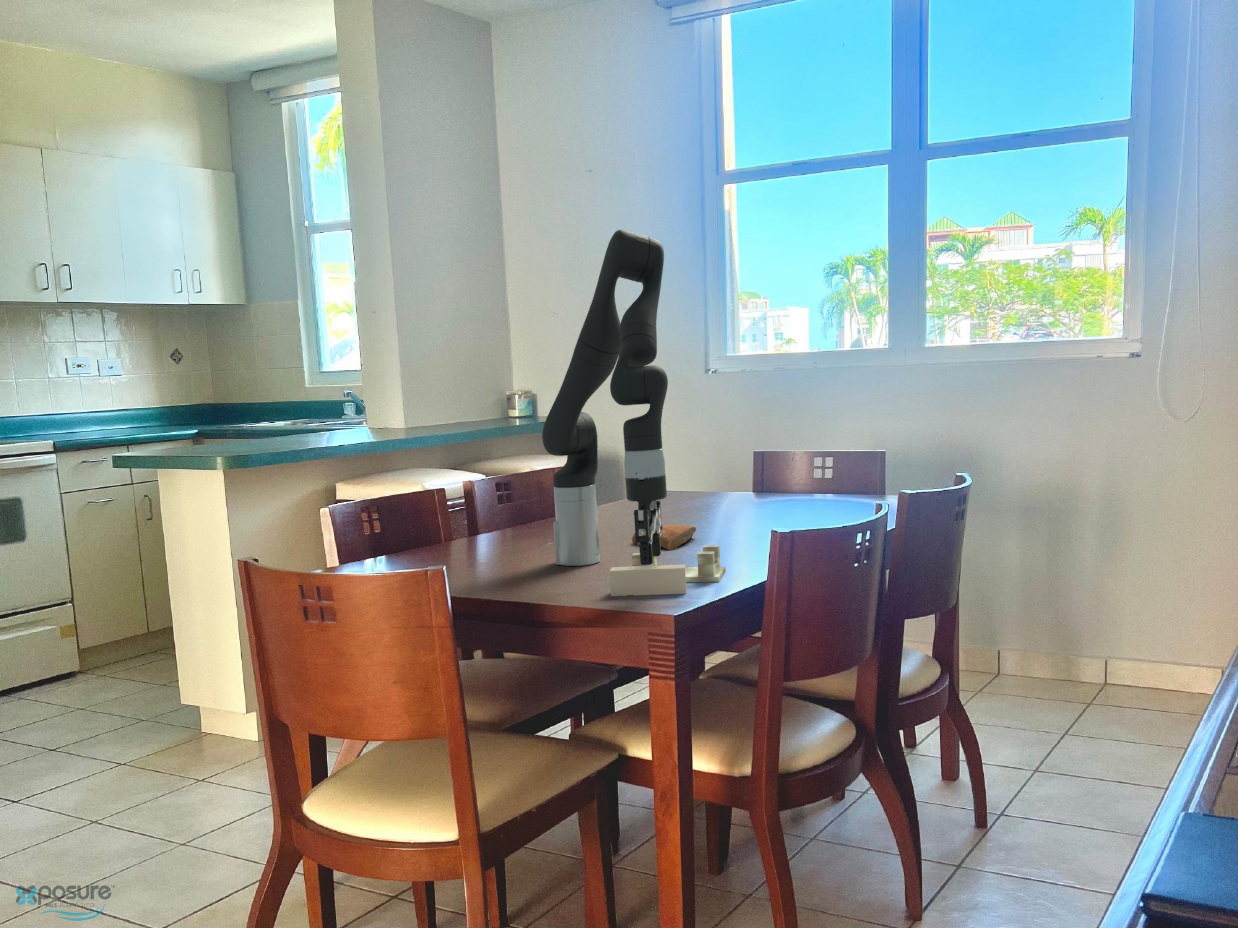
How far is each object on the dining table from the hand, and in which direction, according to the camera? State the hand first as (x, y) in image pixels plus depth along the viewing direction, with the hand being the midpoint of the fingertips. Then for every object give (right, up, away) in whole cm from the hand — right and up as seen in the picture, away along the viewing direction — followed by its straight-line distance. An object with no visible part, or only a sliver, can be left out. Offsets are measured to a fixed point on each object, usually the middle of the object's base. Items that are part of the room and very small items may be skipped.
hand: (651, 560), depth 192 cm
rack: (+6, -5, +13) cm, 15 cm away
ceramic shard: (+7, -2, +55) cm, 55 cm away
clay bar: (0, -6, +1) cm, 6 cm away
